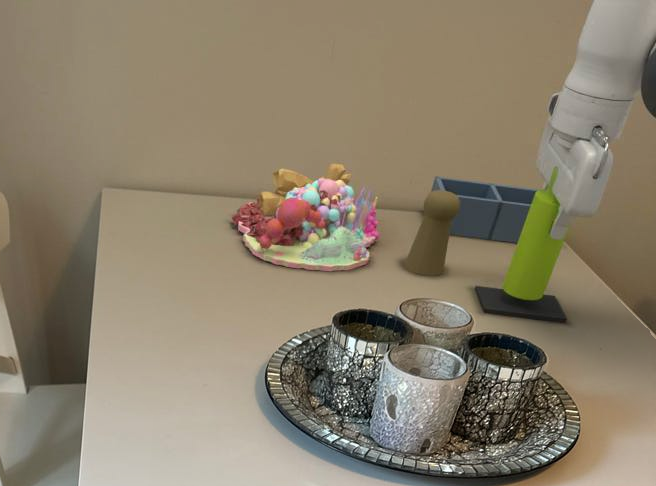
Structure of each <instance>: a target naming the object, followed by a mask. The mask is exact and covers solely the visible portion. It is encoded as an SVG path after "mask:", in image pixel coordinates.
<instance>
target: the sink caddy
mask: <svg viewBox="0 0 656 486" xmlns="http://www.w3.org/2000/svg"><path fill="white" fill-rule="evenodd" d="M436 190H443V191H448V192H451V193H454V194H455V195H457V196H458V197H459V200H460V208H459V211H458V213H457V215H456V216H455V217H454V218H453V219H452V223H451V229H450V235H451V236H460V237H467V238H474V239H475V238H476V239H483V240H490V241H497V242H506V243H513V244H514V243H515V244H518V241H519V238H520V235H521V232H522V229H523V227H524V224H525V221H526V218H527V215H528V213H529V210H530V207H531V204H532V201H533V198H534V196H535V193H536V192H537V191H539V190H540V189H537V188H529V187H521V186H514V185H513V186H512V185H507V184H506V185H505V184H498V183H492V182H491V183H490V182H484V181H483V182H482V181H476V180H475V181H474V180H466V179H461V178H460V179H459V178H451V177H443V176H438V175H437V176H434V180H433V184H432V187H431V190H430V192H432V191H436ZM450 235H449V236H450Z"/></svg>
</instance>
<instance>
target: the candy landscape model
mask: <svg viewBox="0 0 656 486" xmlns="http://www.w3.org/2000/svg"><path fill="white" fill-rule="evenodd" d="M351 176H352V173H346V168H345V166H344V165H343V164H341V163H340V164H339V163H332V164H329V166H328V168H327V171H326V177H325V176H324V175H322V176H321V177H320V178H318V179H317V180H315V181H313V180H312V179H311V178H309V177H307V176H305V175H302V174H300V173H299V172H296V171H294V170H290V169H287V168H280V169H278V170H277V171H275V172H273V173H272V180H273V183H274V187H275V189H276V190H275V192H271V191H261V193H260V195H258V197H256V202H255V201H250V202H248V204H247V203H244V204H243V205H242V206H240V207H239V208H238V209H237V211H236V213H235V214H234V215H233V216H232V217H231V219H232V222H233V225H234V226H235V225H237V230H238V231H239V232H241V233H243V237H242V241H243V242H244V246H245V247H247V248H248V249H249V251H250V252H251V254H252V255H253V256H256V257H257V258H259V259H261V260H262V261H265V262H269V263H272V264H274V265H276V266H277V265H278V266H284V267H287V268H293V269H305V270H307V271H321V272H322V271H323V272H333V271H338V272H339V271H349V270H353V269H356V268H359V267H361V266H365V265H367V264H368V262H369V260H370V257H371V256H370V251H368V250H367V248H368V247H369V248H370V246H371V245H372V244H374V243H375V241H377V240H379V238H380V233H379V232H378V231H377V227H378V226H379V222H378V220H377V215H376V214H377V211H375V210H376V208H377V207H376V206H377V205H378V199H379V197H378V196H375V199H374V201H370V199H371V197H372V194H373V188H372V187H370V189H369V191H368V194H367V196H366V198H365V196H364V194H365V191H366V185H364V186H363V188H362V190H361V192H360V193H358V196H357V198H356V200H355V198H354V197H355V191H354V189H353V187H352V186H351V185H349V183H350V180H351ZM364 198H365V199H364ZM354 201H355V202H354Z"/></svg>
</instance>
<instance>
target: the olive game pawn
mask: <svg viewBox="0 0 656 486" xmlns="http://www.w3.org/2000/svg"><path fill="white" fill-rule="evenodd" d="M459 208H460V200H459V197H458V196H457V195H455V194H454V193H451V192H448V191H443V190H436V191H432V192H431V191H430V192H429V193H428V195H427V196H426V197H425V199H424V201H423V212H424V215H423V218H422V220H421V223H420V224H419V227H418V230H417V231H416V232H417V233H416V235H415V237H414V239H413V242H412V244H411V247H410V250H409V252H408V254H407V257H406V259H405V262H404V267H405V268H406V269H407V270H409V271H410V272H412V273H414V274H416V275H420V276H427V277H436V276H440V275H442V274H443V273H444V269H445V264H446V258H447V253H448V252H447V251H448V247H449V240H450V229H451V223H452V219H453V218H454V217H455V216H456V215H457V213H458V211H459Z"/></svg>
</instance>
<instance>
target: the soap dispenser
mask: <svg viewBox="0 0 656 486" xmlns="http://www.w3.org/2000/svg"><path fill="white" fill-rule="evenodd" d="M558 172H559V170H558V168H557V167H555V168H554V170H553V173H552V176H551V179H550V182H549V184H548V187H547V190H542V189H538V190H539V191H537V192H536V193H535V196H534V198H533V201H532V204H531V207H530V210H529V213H528V215H527V218H526V221H525V224H524V227H523V229H522V232H521V235H520V238H519V241H518V243H516V246H515V249H514V252H513V255H512V258H511V261H510V263H509V266H508V268H507V269H508V270H507V272H506V275H505V278H504V280H503V284H502V289H503V290H504V291H505V292H506V293H508V294H509V295H511V296H513V297H516V298H519V299H524V300H538V299H540V298H542V297H543V294H545V292H546V289H547V287H548V284H549V281H550V279H551V276H552V274H553V271H554V268H555V266H556V264H557V260H558V258H559V256H560V253H561V250H562V249H563V245H564V243H565V240H566V238H567V236H568V233H569V230H570V227H571V225H572V223H571V224H570V225H569V226H568V228H567V230H566V233H565V235H564V237H563V239H560V240H559V239H552V238H551V236H550V235H549V229H550V226H551V224H552V221H555V219H556V217H557V215H558V213H559V211H558V210H559V207H560V203H559V202H558V200H557V199H556V197H555V196H554V194H553V193H552V188H553V185H554V182H555V180H556V177H557V175H558Z"/></svg>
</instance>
